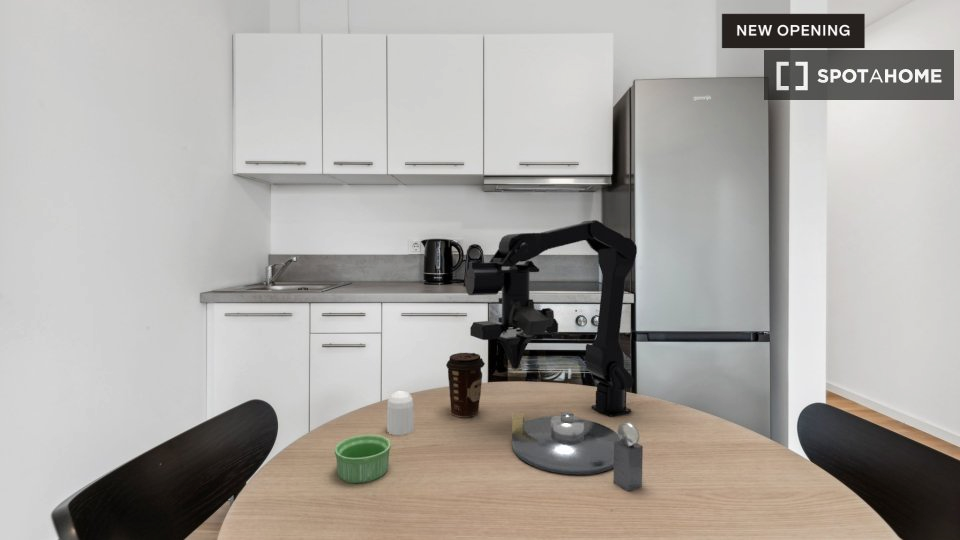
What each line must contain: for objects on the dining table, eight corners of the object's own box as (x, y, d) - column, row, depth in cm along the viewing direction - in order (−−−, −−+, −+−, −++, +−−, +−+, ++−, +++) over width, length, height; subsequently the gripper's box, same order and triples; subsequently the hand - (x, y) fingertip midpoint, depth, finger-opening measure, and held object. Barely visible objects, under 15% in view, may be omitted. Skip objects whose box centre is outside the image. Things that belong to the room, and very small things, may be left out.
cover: (552, 428, 85) (552, 407, 85) (584, 432, 83) (584, 410, 83) (549, 441, 79) (549, 419, 79) (583, 445, 78) (583, 422, 77)
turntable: (520, 421, 94) (520, 397, 93) (618, 431, 89) (619, 405, 89) (503, 466, 74) (503, 436, 74) (627, 481, 69) (628, 449, 69)
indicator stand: (625, 477, 71) (626, 417, 71) (642, 487, 68) (644, 424, 68) (612, 481, 70) (613, 421, 69) (629, 492, 67) (630, 428, 66)
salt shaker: (415, 424, 92) (415, 387, 92) (412, 435, 87) (411, 395, 87) (389, 424, 92) (389, 387, 92) (385, 435, 87) (384, 395, 87)
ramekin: (400, 463, 76) (400, 438, 76) (371, 490, 67) (371, 462, 67) (356, 455, 79) (355, 431, 78) (323, 480, 70) (322, 453, 70)
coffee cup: (486, 407, 103) (486, 352, 102) (482, 420, 95) (483, 360, 94) (449, 405, 104) (449, 351, 103) (443, 418, 96) (443, 359, 95)
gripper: (498, 300, 80) (497, 384, 80) (576, 295, 89) (575, 371, 90) (469, 294, 90) (469, 370, 90) (542, 291, 99) (541, 359, 99)
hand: (515, 368), depth 92 cm, fingers closed
